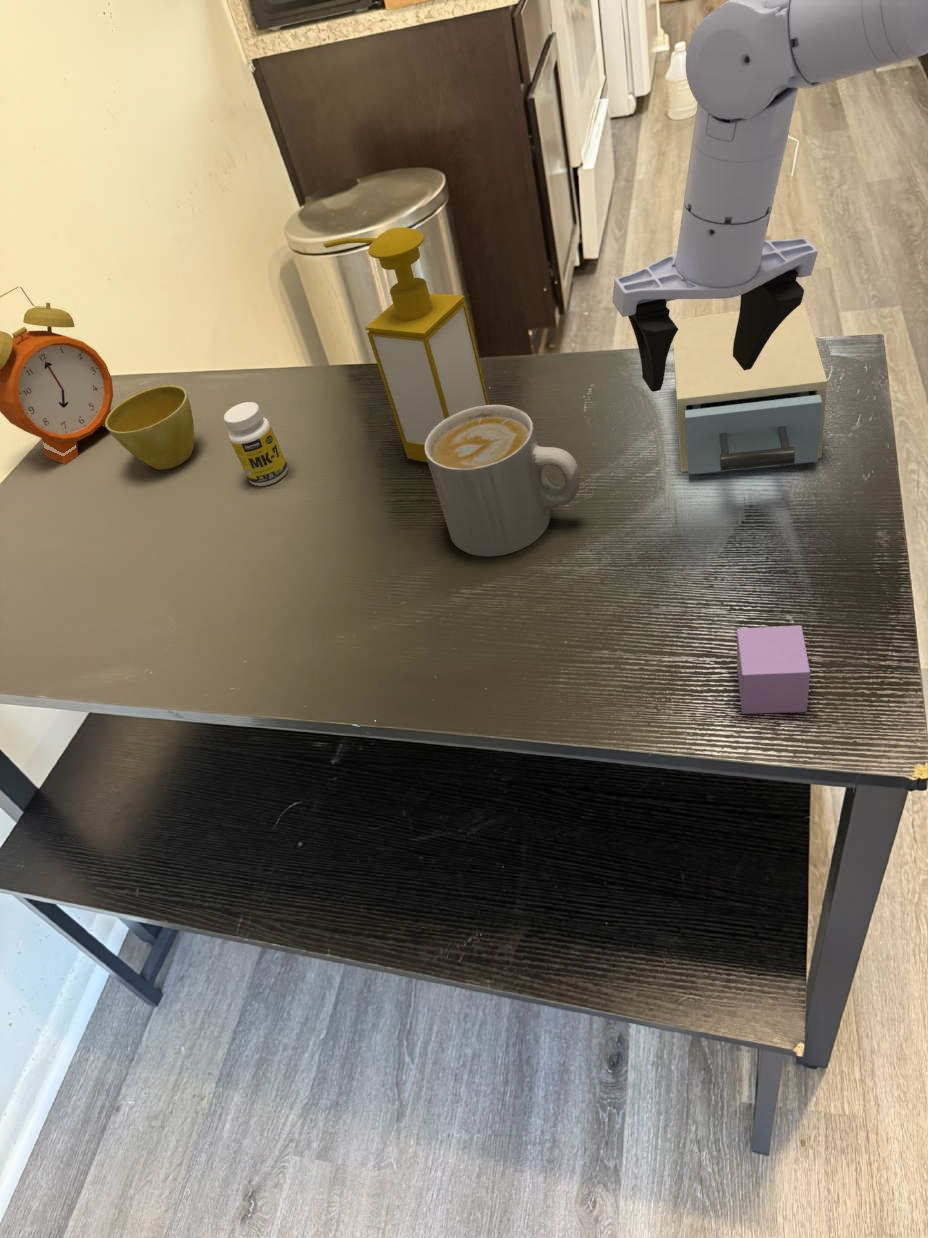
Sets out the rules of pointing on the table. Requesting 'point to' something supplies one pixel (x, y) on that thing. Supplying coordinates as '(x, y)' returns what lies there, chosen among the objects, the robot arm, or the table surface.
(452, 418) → the coffee mug
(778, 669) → the block
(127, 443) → the flower pot
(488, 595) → the table surface
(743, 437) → the drawer
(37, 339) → the alarm clock
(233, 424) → the supplement bottle
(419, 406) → the soap bottle
